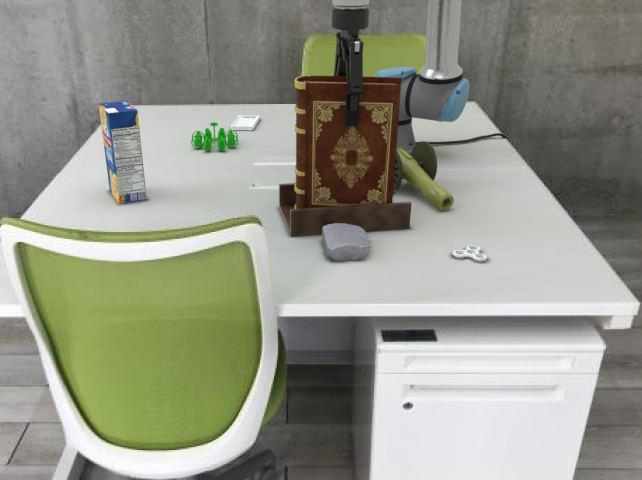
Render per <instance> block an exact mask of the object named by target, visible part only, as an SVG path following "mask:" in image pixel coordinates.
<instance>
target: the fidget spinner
mask: <svg viewBox="0 0 642 480" xmlns="http://www.w3.org/2000/svg"><path fill="white" fill-rule="evenodd" d="M451 254H452V256H453V257H455V258H459V259H462V258H471V259H473V260H474V261H477V262H484V261H485V262H486V261H487V260H488V256H487V255H486V254H484V253H482V252H481V247H480V246H478V245H474V244H470V245H467V246H466V248H465V249H455V250H453V251H452V253H451Z"/></svg>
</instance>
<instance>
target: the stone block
mask: <svg viewBox="0 0 642 480" xmlns="http://www.w3.org/2000/svg"><path fill="white" fill-rule="evenodd" d="M321 241H322V244H323V247H324V251H325V254H326V257H327V259H329V260H330V261H331V262H337V261H339V262H344V261H359V260H362V259H364V257H365V256H367V254H368V253H369V251H370V249H371V238H370V237H369V236H368V233H367V232H365V231H364V229H362V228H361V227H359V226H356V225H350V224H345V223H340V224H339V223H334V224H328V225H326V226H324V227H323V228H322V235H321Z"/></svg>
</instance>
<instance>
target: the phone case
mask: <svg viewBox="0 0 642 480" xmlns="http://www.w3.org/2000/svg"><path fill="white" fill-rule="evenodd" d="M260 117H261V116H260V115H258V114H254V115H252V114H238V115H237V117H236V118H235V119H234V121H233V122H232V123H231V125H230V130H234V131H254V129H255V128H256V126H257V125H258V123H259V122H260V120H261V119H260Z"/></svg>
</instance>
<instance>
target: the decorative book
mask: <svg viewBox="0 0 642 480" xmlns="http://www.w3.org/2000/svg"><path fill="white" fill-rule="evenodd" d="M401 79H402V78H397V77H375V76H363V93H360V95H359V114H358V126H349V127H345V104H346V95H344V92H345V91H347V76H333V75H312V74H302V75H299V76H297V77H295V78H294V88H295V104H294V112H295V124H294V132H295V166H294V174H295V182H294V183H295V186H294V190H295V192H296V204H295V207H294V209H299V208H316V207H332V206H349V205H365V204H382V203H393V200H394V199H393V197H394V192H393V188H394V174H395V161H396V147H397V134H398V120H399V107H400V93H401Z"/></svg>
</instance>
